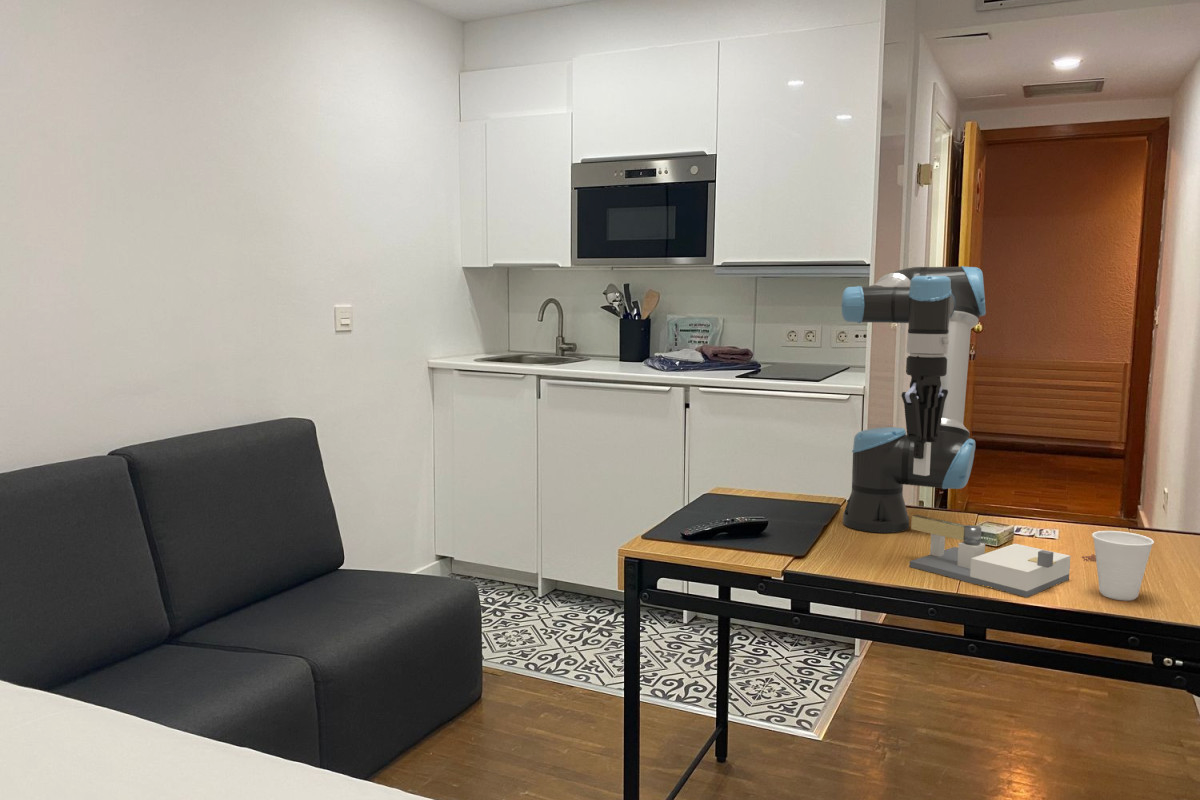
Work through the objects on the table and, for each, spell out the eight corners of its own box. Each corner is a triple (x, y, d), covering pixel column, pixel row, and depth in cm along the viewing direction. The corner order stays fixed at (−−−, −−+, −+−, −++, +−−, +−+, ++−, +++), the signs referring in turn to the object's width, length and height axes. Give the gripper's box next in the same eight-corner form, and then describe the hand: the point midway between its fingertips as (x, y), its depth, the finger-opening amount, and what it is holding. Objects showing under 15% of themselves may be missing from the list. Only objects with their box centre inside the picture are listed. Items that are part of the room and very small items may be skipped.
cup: (1091, 600, 166) (1095, 541, 165) (1084, 584, 175) (1088, 528, 174) (1154, 607, 163) (1159, 547, 161) (1143, 590, 172) (1148, 533, 171)
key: (1073, 558, 195) (1099, 579, 181) (1073, 554, 195) (1099, 574, 181) (1103, 557, 194) (1131, 578, 180) (1103, 553, 194) (1131, 574, 180)
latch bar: (983, 542, 182) (984, 527, 182) (975, 545, 180) (976, 530, 180) (917, 527, 193) (918, 513, 193) (909, 530, 191) (909, 516, 191)
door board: (909, 566, 186) (911, 531, 185) (954, 552, 197) (955, 518, 196) (1031, 599, 167) (1034, 559, 166) (1074, 580, 178) (1076, 543, 177)
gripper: (925, 357, 172) (920, 481, 175) (962, 355, 180) (956, 473, 183) (890, 355, 178) (885, 475, 181) (927, 353, 186) (922, 467, 189)
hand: (921, 474), depth 182 cm, fingers closed
